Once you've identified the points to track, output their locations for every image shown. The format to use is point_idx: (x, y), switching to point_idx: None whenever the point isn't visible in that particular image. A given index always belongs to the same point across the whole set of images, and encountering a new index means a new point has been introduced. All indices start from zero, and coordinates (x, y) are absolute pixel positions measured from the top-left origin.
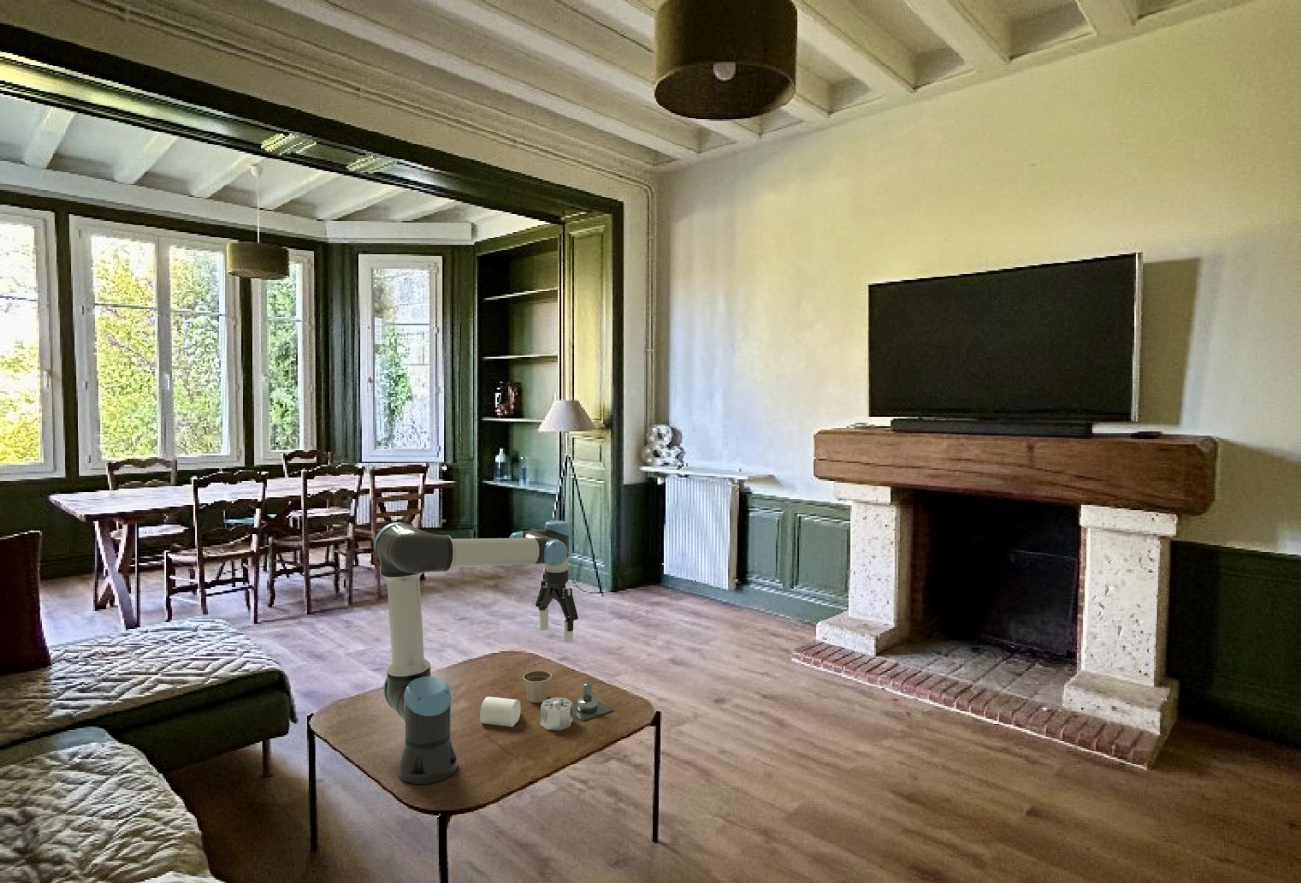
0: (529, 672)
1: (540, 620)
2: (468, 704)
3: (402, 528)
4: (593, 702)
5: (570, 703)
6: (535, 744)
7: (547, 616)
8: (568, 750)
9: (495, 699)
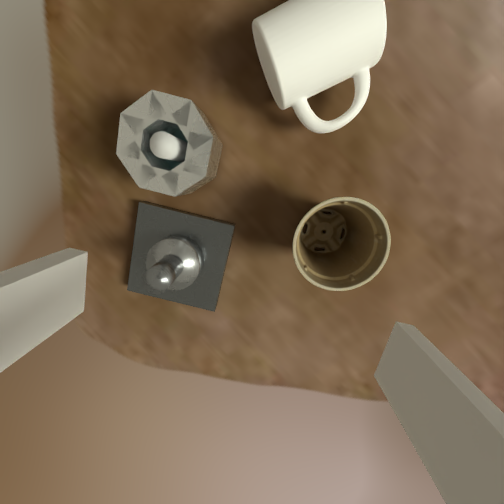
0: (385, 253)
1: (465, 383)
2: (477, 95)
3: None
4: (150, 264)
5: (135, 175)
6: (151, 36)
7: (437, 472)
8: (68, 70)
9: (339, 5)
